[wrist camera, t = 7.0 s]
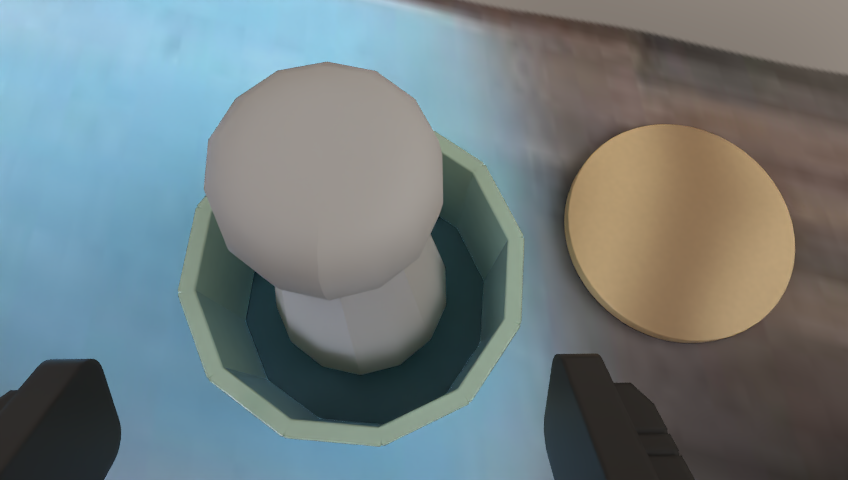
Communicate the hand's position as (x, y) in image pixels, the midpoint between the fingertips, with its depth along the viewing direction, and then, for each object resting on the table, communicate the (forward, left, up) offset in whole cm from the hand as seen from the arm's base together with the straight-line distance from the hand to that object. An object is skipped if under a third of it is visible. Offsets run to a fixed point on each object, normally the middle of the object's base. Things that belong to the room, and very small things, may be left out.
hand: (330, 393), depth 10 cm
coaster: (+12, +8, -11) cm, 18 cm away
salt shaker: (0, +4, -11) cm, 12 cm away
